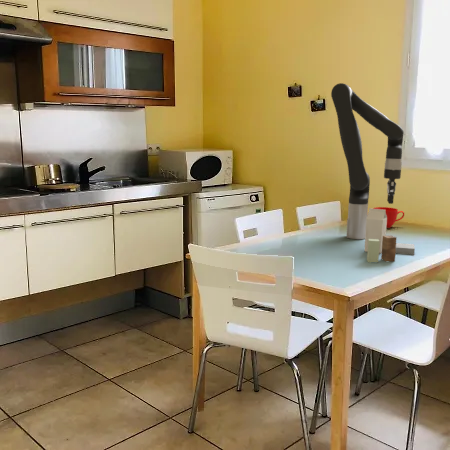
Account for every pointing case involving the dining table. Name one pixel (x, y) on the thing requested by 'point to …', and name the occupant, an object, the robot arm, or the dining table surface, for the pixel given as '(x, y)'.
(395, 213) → the ceramic cup
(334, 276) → the dining table surface
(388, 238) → the walnut block
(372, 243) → the sage block
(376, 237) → the milk carton
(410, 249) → the grey slab
